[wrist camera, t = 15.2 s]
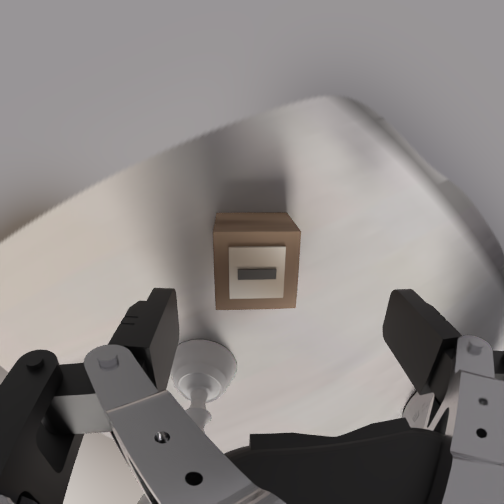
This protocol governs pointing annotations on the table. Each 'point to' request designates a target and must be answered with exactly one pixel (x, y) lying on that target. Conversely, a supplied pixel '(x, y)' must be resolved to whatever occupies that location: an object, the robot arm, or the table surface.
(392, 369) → the table surface
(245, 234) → the walnut cube
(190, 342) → the chalice
